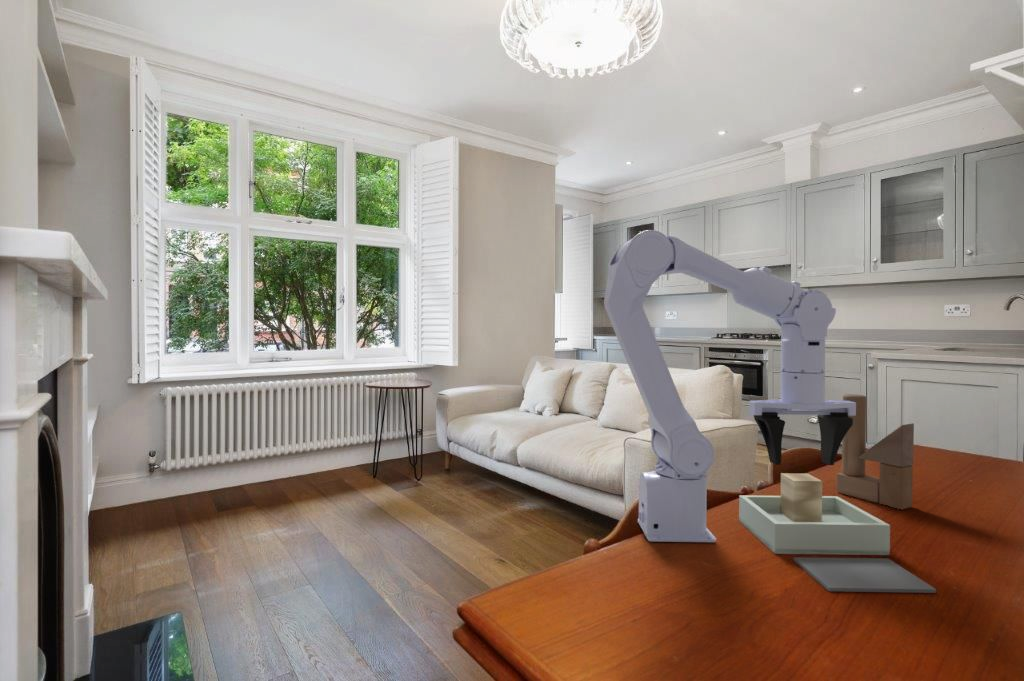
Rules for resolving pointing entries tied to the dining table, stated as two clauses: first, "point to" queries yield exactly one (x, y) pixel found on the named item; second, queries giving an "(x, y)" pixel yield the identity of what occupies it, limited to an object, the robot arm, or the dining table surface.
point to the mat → (862, 575)
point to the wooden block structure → (888, 452)
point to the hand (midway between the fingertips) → (801, 463)
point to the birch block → (801, 497)
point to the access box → (815, 528)
